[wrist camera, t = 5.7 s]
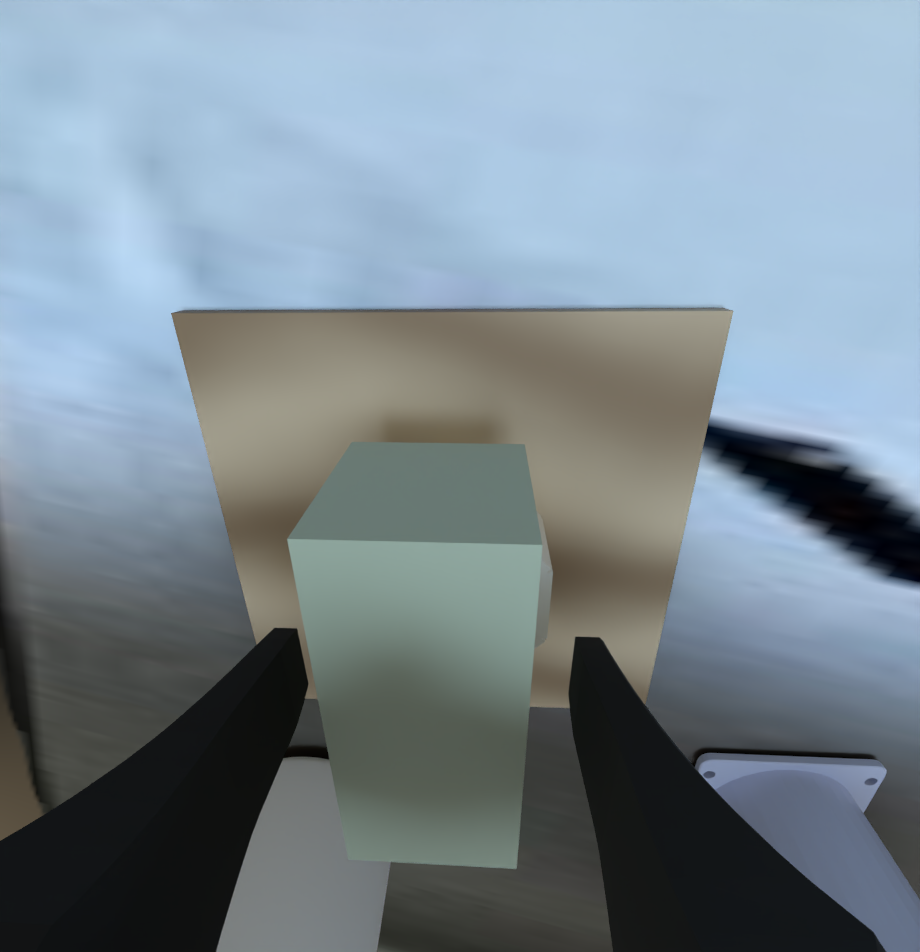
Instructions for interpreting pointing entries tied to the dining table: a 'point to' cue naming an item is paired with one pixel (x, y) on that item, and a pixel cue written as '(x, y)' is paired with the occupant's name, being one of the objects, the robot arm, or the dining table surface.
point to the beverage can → (304, 874)
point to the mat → (471, 441)
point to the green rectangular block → (424, 645)
